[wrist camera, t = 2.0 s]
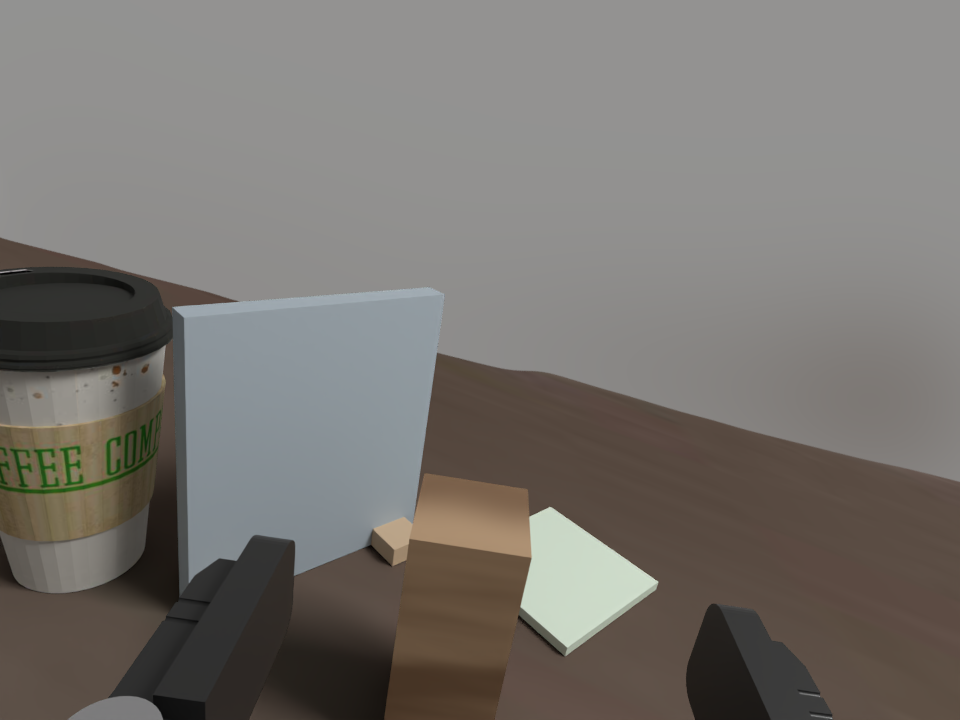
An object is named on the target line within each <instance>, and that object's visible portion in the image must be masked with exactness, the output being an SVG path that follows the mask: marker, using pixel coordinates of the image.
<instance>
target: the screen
mask: <svg viewBox="0 0 960 720" xmlns="http://www.w3.org/2000/svg"><path fill="white" fill-rule="evenodd" d="M444 297H445V294H443V293H441V292H438V291H436V290H434V289H432V288H430V287H428V288H414V289H402V290H388V291H375V292H364V293H363V292H362V293H350V294H336V295H323V296H310V297H299V298H285V299H273V300H272V299H271V300H258V301H246V302H232V303H220V304H207V305H194V306H181V307H172V318H173V357H174V397H175V436H176V476H177V516H178V555H179V595H180V596H181V594H182V593H183V591H184V590H185V589H186V587H187V586H188V584H189V583H190V581H191V580H192V579H193V577H194V576H195V575H196V574H197V573H199V572H200V571H202V570H203V569H205V568H206V567H207V566H209V565H210V564H212V563H213V562H214V561H216V560H217V559H219V558H221V559H228V560H235V561H237V560H238V558H239V556H240V555H241V553H242V552H243V550H244V548H245V547H246V545H247V544H248V542H249V540H250V539H251V538H252V537H253V536H254V535H262V536H268V537H275V538H282V539H289V540H294V542H295V567H294V576H295V575H298V574H300V573H303V572H305V571H307V570H310V569H312V568H315V567H317V566H320V565H322V564H325V563H327V562H330V561H332V560H335V559H337V558H340V557H342V556H345V555H347V554H349V553H352V552H354V551H357V550H359V549H362V548H364V547H367V546H369V545H372V546H373V547H374V548H375V549H376V550H377V551H378V552H379V553H380V554H381V555H382V556H383V557H384V558H385V559H386V560H387V561H388V563H389V564H390V565H391V566H394V565H396V564H399V563H401V562H403V561H405V560H406V559H407V552H408V545H409V538H410V534H411V530H412V525H413V518H414V511H415V504H416V497H417V490H418V482H419V475H420V468H421V461H422V454H423V447H424V440H425V433H426V426H427V418H428V411H429V404H430V397H431V390H432V383H433V376H434V369H435V362H436V354H437V347H438V340H439V333H440V326H441V319H442V312H443V304H444Z"/></svg>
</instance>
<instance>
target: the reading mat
mask: <svg viewBox="0 0 960 720" xmlns="http://www.w3.org/2000/svg"><path fill="white" fill-rule="evenodd" d="M529 521H530V537H531V554H532V559H531V563H530V568H529V572H528V576H527V581H526V585H525V589H524V593H523V598H522V602H521V606H520V611H519V616H520V617H521V618H522V619H524V620H525V621H526V622H527V623H528V624H529V625H530V626H531V627H533V628H534V629H535V630H536V631H537V632H538V633H539V634H540V635H542V636H543V637H544V638H545V639H546V640H547V641H548V642H549V643H551V644H552V645H553V646H554V647H555V648H556V649H557V650H558V651H560V652H561V653H562V654H563V655H564V656H566V655H568V654H569V653H570V652H572V651H573V650H574V649H576V648H577V647H578V646H580V645H581V644H582V643H584V642H585V641H587V640H588V639H589V638H591V637H592V636H593V635H595V634H596V633H597V632H599V631H600V630H602V629H603V628H604V627H606V626H607V625H608V624H610V623H611V622H612V621H614V620H615V619H617V618H618V617H619V616H621V615H622V614H623V613H625V612H626V611H627V610H629V609H630V608H631V607H633V606H634V605H636V604H637V603H638V602H640V601H641V600H642V599H644V598H645V597H646V596H648V595H649V594H651V593H652V592H653V591H655V590H656V588H657V585H658V581H656V580H655V579H653V578H652V577H651V576H649V575H648V574H646V573H645V572H643V571H642V570H640V569H639V568H638V567H636V566H635V565H633V564H632V563H630V562H629V561H628V560H626V559H625V558H623V557H622V556H620V555H619V554H617V553H616V552H615V551H613V550H612V549H610V548H609V547H607V546H606V545H605V544H603V543H602V542H600V541H599V540H597V539H596V538H595V537H593V536H592V535H590V534H589V533H587V532H586V531H584V530H583V529H582V528H580V527H579V526H577V525H576V524H574V523H573V522H572V521H570V520H569V519H567V518H566V517H564V516H563V515H561V514H560V513H559V512H557V511H556V510H554V509H553V508H551V507H550V508H548V509H545V510H543V511H541V512H539V513H537V514H535V515H532V516H530V517H529Z"/></svg>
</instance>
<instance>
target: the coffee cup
mask: <svg viewBox="0 0 960 720" xmlns="http://www.w3.org/2000/svg"><path fill="white" fill-rule="evenodd" d="M172 339H173V318H172V315H171V313H170V311H169V310H168V309H167V308H166V307H165V306H164V305H163V302H162V299H161V296H160V293H159V291H158V289H157V287H155V286H154V285H153V284H152V283H150V282H148V281H146V280H144V279H141V278H138V277H135V276H132V275H127V274H123V273H119V272H112V271H106V270H98V269H89V268H74V267H30V268H16V269H5V270H0V537H1V540H2V543H3V546H4V549H5V552H6V555H7V558H8V561H9V564H10V567H11V570H12V573H13V576H14V578H15V579H16V580H17V581H18V583H19V584H21V585H23V586H24V587H26V588H28V589H31V590H34V591H38V592H45V593H68V592H77V591H81V590H85V589H90V588H93V587H96V586H99V585H102V584H104V583H106V582H109V581H111V580H113V579H115V578H117V577H118V576H120V575H122V574H123V573H125V572H126V571H127V570H129V569H130V568H131V567H132V566H133V565H135V563H136V562H137V561H138V560H139V558H140V557H141V555H142V553H143V551H144V548H145V542H146V532H147V522H148V512H149V502H150V500H151V498H152V496H153V491H154V484H155V474H156V465H157V456H158V447H159V438H160V428H161V419H162V410H163V401H164V391H165V382H166V381H165V378H164V375H163V365H164V355H165V346H166V344H168V343H169V342H170V341H171V340H172Z"/></svg>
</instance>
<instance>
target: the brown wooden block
mask: <svg viewBox="0 0 960 720" xmlns="http://www.w3.org/2000/svg"><path fill="white" fill-rule="evenodd" d="M531 559H532V554H531V537H530V521H529V504H528V489H522V488H515V487H509V486H503V485H496V484H490V483H483V482H477V481H471V480H464V479H458V478H452V477H445V476H439V475H433V474H426V473H425V474H424V478H423V482H422V487H421V491H420V495H419V500H418V504H417V508H416V513H415V517H414V521H413V525H412V530H411V534H410V538H409V545H408V552H407V559H406V567H405V574H404V581H403V588H402V595H401V602H400V609H399V616H398V623H397V630H396V638H395V645H394V652H393V659H392V666H391V673H390V680H389V687H388V694H387V702H386V709H385V716H384V720H494V719H495V715H496V710H497V706H498V702H499V697H500V693H501V689H502V684H503V680H504V676H505V671H506V667H507V663H508V658H509V654H510V650H511V645H512V641H513V637H514V632H515V628H516V624H517V619H518V615H519V611H520V606H521V602H522V598H523V593H524V589H525V585H526V581H527V576H528V572H529V568H530V563H531Z"/></svg>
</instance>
